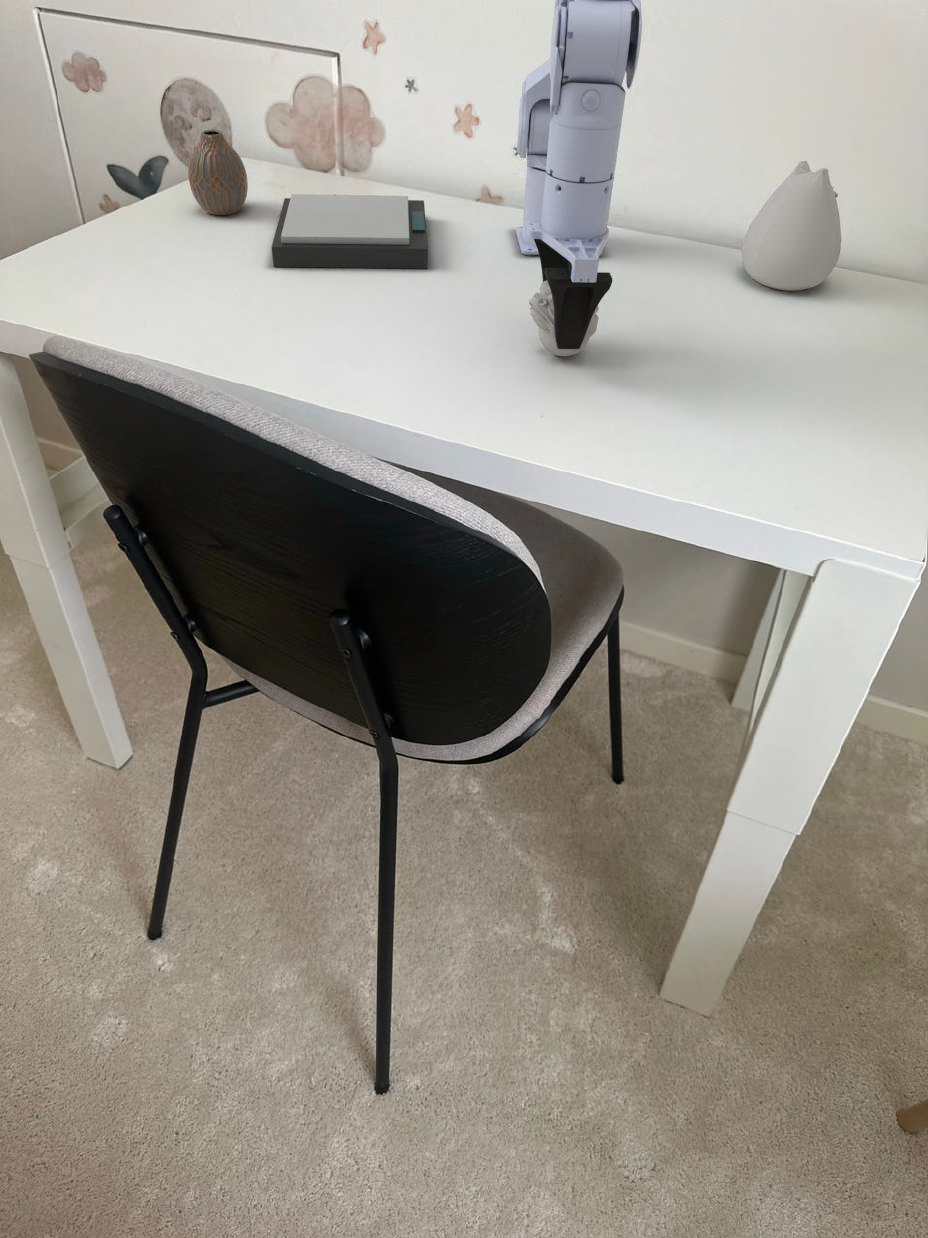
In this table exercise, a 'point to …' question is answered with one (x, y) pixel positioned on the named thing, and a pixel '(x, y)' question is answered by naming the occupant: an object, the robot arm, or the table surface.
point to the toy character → (795, 233)
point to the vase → (217, 175)
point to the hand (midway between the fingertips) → (562, 328)
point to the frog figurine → (545, 322)
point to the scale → (351, 232)
